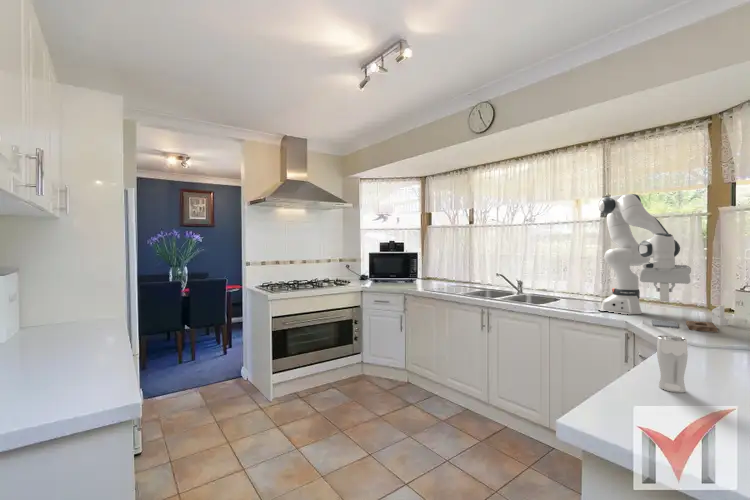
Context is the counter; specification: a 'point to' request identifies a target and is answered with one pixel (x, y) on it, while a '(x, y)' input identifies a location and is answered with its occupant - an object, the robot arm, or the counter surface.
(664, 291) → the plug
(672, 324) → the slate pad
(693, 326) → the header collar
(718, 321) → the white wedge bracket
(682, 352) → the beer glass
